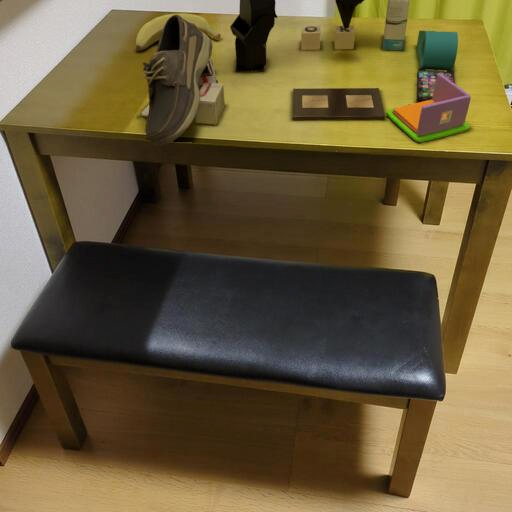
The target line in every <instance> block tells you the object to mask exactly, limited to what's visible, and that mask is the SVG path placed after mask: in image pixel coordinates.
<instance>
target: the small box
mask: <svg viewBox="0 0 512 512" xmlns="http://www.w3.org/2000/svg"><path fill="white" fill-rule="evenodd" d="M225 104H226V102H225V89H224V83H219V82H218V83H203V85H202V87H201V89H200V105H199V109H198V111H197V113H196V115H195V117H194V119H195V123H196V124H201V125H202V124H203V125H213V126H216V125H217V123H218V121H219V119H220V117H221V114H222V113H223V110H224V108H225Z"/></svg>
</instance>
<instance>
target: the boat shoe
mask: <svg viewBox="0 0 512 512" xmlns="http://www.w3.org/2000/svg"><path fill="white" fill-rule="evenodd" d="M212 54H213V42H212V40H211V38H210V37H209V36H208V34H205V33H203V32H201V31H200V30H199V29H198V28H197V27H196V25H195V24H193V23H190V22H187V21H186V20H184V19H183V18H182V17H181V16H179V15H173V16H171V17H170V18H169V19H168V20H167V22H166V24H165V26H164V28H163V31H162V34H161V38H160V40H158V45H157V49H156V51H155V52H154V53H152V54H151V55H150V58H149V62H145V61H143V62H142V65H143V68H142V69H141V72H142V73H143V74H145V77H144V79H145V80H146V82H147V87H148V100H149V101H148V104H149V114H148V116H147V120H146V125H145V131H144V132H145V134H146V136H147V139H148V140H149V142H151V144H152V145H153V146H155V147H162V146H166V145H168V144H170V143H172V142H174V141H175V140H176V139H178V138H180V137H181V136H182V135H183V134H184V133H185V131H187V129H188V128H189V127H190V125H191V124H192V122H193V121H194V119H195V115H196V113H197V111H198V109H199V105H200V91H199V79H200V76H201V74H202V72H203V70H204V69H205V67H206V65H207V64H208V62H209V59H210V58H211V57H212Z"/></svg>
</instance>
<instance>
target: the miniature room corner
mask: <svg viewBox="0 0 512 512" xmlns="http://www.w3.org/2000/svg"><path fill="white" fill-rule="evenodd" d="M471 98H472V97H471V94H470V93H468V92H467V91H465V90H464V89H463V88H461V87H460V86H458V85H457V84H456V83H455V84H454V83H453V82H452V81H450V80H449V79H448V78H446V77H445V76H443V75H441V74H440V75H437V78H436V83H435V88H434V93H433V98H432V100H427V101H423V102H415V103H409V104H407V105H403V106H398V107H395V108H391V109H388V110H387V111H386V116H387V117H388V118H389V119H390V120H391V121H392V122H393V123H395V125H397V126H398V127H399V128H400V129H401V130H402V131H403V132H404V133H405V134H407V135H408V136H409V137H410V138H411V139H412V140H414V141H415V142H417V143H424V142H428V141H432V140H436V139H441V138H444V137H449V136H453V135H456V134H459V133H463V132H466V131H468V130H469V129H470V124H469V123H468V122H467V121H466V118H467V115H468V113H469V112H468V111H469V107H470V104H471Z"/></svg>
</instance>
